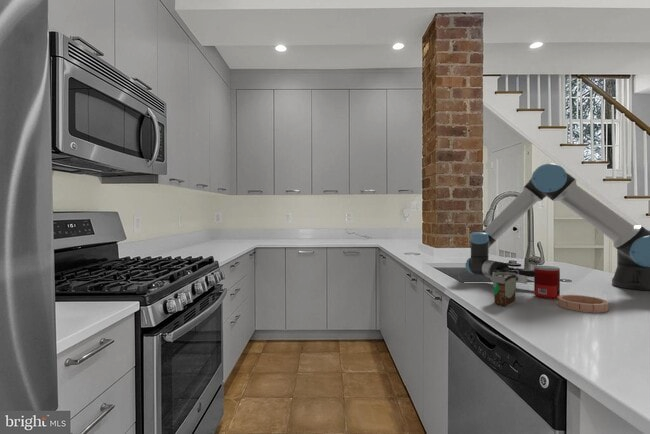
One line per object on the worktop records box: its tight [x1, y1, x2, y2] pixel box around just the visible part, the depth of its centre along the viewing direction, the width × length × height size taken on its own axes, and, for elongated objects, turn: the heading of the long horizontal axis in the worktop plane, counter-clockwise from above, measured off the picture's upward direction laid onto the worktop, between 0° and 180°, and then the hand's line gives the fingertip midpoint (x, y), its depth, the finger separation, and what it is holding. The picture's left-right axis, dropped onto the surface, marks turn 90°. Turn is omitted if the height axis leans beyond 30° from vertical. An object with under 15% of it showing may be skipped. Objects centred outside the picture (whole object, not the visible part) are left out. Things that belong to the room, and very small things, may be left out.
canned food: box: [533, 265, 561, 300], centre depth 131 cm, size 8×8×11 cm
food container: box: [490, 272, 517, 308], centre depth 124 cm, size 12×6×10 cm, turn 134°
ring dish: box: [556, 294, 610, 313], centre depth 118 cm, size 13×13×2 cm
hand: (540, 278), depth 133 cm, fingers open, 13 cm apart
